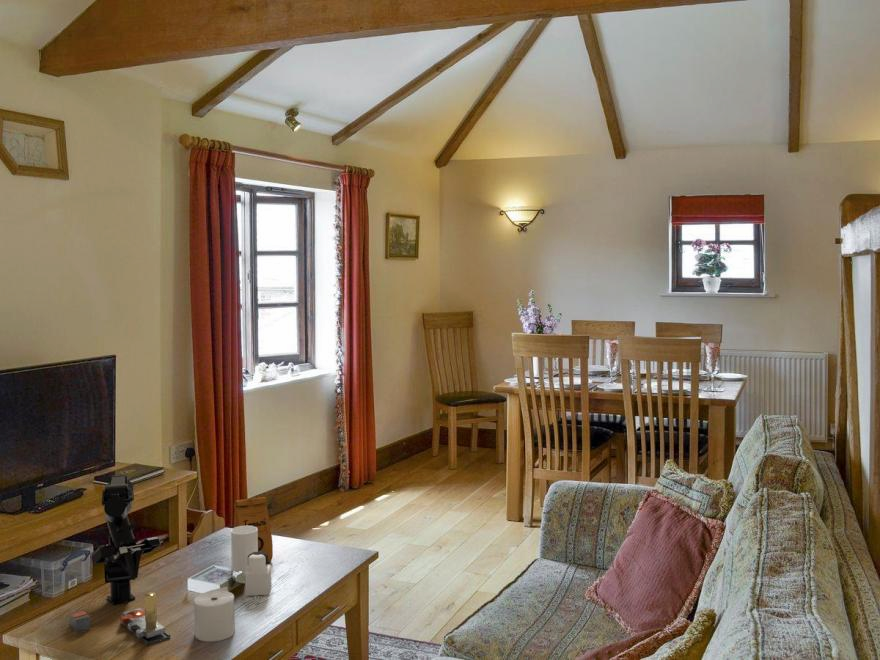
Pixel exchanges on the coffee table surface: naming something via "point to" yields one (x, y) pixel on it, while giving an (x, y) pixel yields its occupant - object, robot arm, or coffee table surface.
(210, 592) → the toilet tissue
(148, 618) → the rack
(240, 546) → the white cylinder
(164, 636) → the guide
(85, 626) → the grey and red block
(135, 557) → the robot arm
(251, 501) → the coffee package
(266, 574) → the medicine bottle
